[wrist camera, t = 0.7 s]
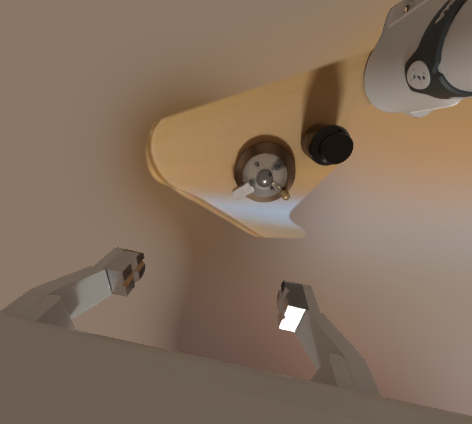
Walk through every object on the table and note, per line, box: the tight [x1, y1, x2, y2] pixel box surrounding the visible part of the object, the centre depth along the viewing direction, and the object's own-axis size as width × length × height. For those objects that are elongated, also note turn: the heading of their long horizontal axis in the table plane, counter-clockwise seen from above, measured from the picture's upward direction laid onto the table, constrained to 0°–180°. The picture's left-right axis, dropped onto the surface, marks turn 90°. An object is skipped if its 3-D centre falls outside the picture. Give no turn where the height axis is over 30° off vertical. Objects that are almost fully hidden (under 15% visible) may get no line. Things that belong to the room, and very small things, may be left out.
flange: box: [232, 153, 287, 201], centre depth 41 cm, size 13×10×4 cm
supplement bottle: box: [301, 124, 353, 166], centre depth 34 cm, size 7×7×12 cm
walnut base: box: [235, 142, 295, 202], centre depth 41 cm, size 14×14×6 cm
